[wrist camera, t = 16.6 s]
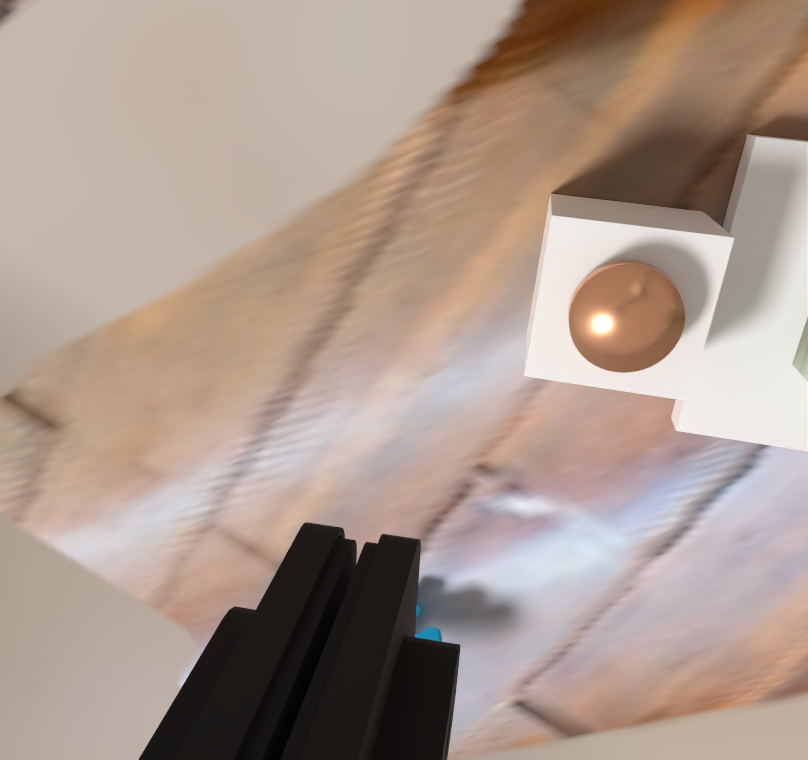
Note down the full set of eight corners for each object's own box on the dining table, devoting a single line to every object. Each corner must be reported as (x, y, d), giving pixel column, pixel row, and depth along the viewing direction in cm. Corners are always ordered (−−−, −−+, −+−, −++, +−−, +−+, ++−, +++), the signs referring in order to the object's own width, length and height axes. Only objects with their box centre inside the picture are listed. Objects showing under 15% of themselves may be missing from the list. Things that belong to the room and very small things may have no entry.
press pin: (574, 229, 33) (580, 259, 28) (672, 241, 32) (697, 274, 27) (557, 319, 35) (559, 363, 29) (649, 332, 34) (670, 380, 29)
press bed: (563, 115, 32) (567, 122, 27) (1098, 170, 30) (1223, 191, 24) (516, 393, 38) (512, 446, 33) (962, 462, 35) (1038, 532, 30)
